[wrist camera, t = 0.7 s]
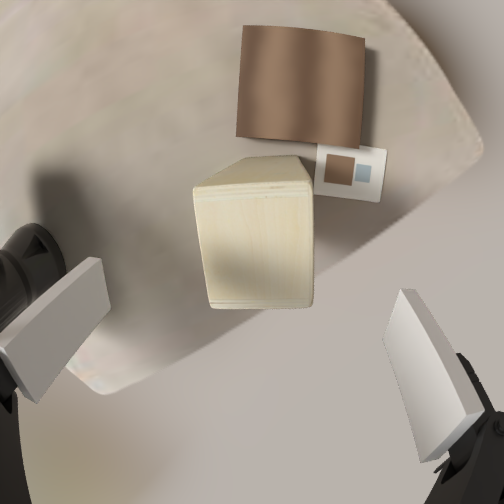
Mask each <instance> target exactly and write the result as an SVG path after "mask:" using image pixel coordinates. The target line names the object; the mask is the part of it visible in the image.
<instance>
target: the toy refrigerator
mask: <svg viewBox="0 0 504 504" xmlns="http://www.w3.org/2000/svg"><path fill="white" fill-rule="evenodd" d="M193 201H194V209H195V216H196V223H197V230H198V237H199V244H200V250H201V257H202V263H203V269H204V275H205V281H206V287H207V293H208V298H209V303H210V306H211V307H212V308H215V309H291V308H292V309H293V308H307V307H311V306H312V304H313V298H314V200H313V183H312V179H311V177H310V176H309V174H308V172H307V171H306V169H305V168H304V166H303V164H302V163H301V161H300V159H299V158H298V156H297V155H286V156H264V157H249V158H244V159H242V160H240V161H238V162H236V163H234V164H233V165H231V166H229V167H227V168H226V169H224V170H222V171H220V172H219V173H217V174H215V175H213V176H212V177H210V178H208V179H206V180H205V181H203V182H201V183H200V184H198V185H196V186H195V187H194V188H193Z"/></svg>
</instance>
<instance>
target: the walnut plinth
mask: <svg viewBox="0 0 504 504" xmlns="http://www.w3.org/2000/svg"><path fill="white" fill-rule="evenodd" d="M364 74H365V38H360V37H356V36H351V35H345V34H340V33H334V32H327V31H320V30H313V29H304V28H293V27H280V26H250V25H243V33H242V47H241V61H240V76H239V92H238V109H237V127H236V137H251V138H267V139H280V140H291V141H301V142H310V143H319V144H327V145H334V146H341V147H348V148H354V149H359V147H360V137H361V126H362V113H363V97H364Z"/></svg>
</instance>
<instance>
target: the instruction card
mask: <svg viewBox="0 0 504 504" xmlns="http://www.w3.org/2000/svg"><path fill="white" fill-rule="evenodd" d="M386 155H387V150H384V149H379V148H374V147H368V146H362V145H360V147H359V149H354V148H348V147H341V146H334V145H327V144H319V143H318V146H317V157H316V167H315V177H314V187H313V194H315V195H324V196H333V197H341V198H349V199H356V200H363V201H370V202H377V203H380V198H381V192H382V185H383V178H384V171H385V164H386Z"/></svg>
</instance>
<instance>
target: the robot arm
mask: <svg viewBox="0 0 504 504" xmlns="http://www.w3.org/2000/svg"><path fill="white" fill-rule="evenodd" d="M110 309H111V305H110V300H109V296H108V291H107V286H106V281H105V276H104V271H103V265H102V260H101V258H95V257H88V258H87V259H85V260H84V261H83V262H81V263H80V264H79V265H78V266H76V267H75V268H74V269H73V270H71V271H70V272H69V273H68V274H66V269H65V264H64V260H63V257H62V254H61V252H60V250H59V248H58V246H57V244H56V242H55V241H54V239H53V238H52V237H51V235H50V234H49V233H48V232H47V231H46V230H45V229H44V228H42V227H41V226H39V225H37V224H33V223H29V224H26V225H24V226H22V227H20V228H19V229H17V230H16V231H15V232H14V234H13V235H12V236H11V237H10V239H9V240H8V241H7V242H6V244H5V245H4V246H3V248H2V249H1V250H0V504H32V503H31V499H30V495H29V490H28V486H27V481H26V476H25V471H24V465H23V459H22V452H21V444H20V435H19V423H18V422H19V421H18V398H17V394H16V392H15V391H14V390H15V389H16V388H17V386H18V388H19V389H20V391H21V392H22V394H23V395H24V396H25V397H26V398H28V399H30V400H31V401H33V402H34V403H36V404H37V403H38V402H39V401H40V399H41V398H42V396H43V395H44V394H45V392H46V391H47V389H48V388H49V387H50V385H51V384H52V382H53V381H54V380H55V378H56V377H57V376H58V374H59V373H60V372H61V370H62V369H63V368H64V367H65V365H66V364H67V363H68V361H69V360H70V359H71V357H72V356H73V355H74V354H75V352H76V351H77V350H78V348H79V347H80V346H81V345H82V343H83V342H84V341H85V340H86V338H87V337H88V336H89V335H90V334H91V332H92V331H93V330H94V329H95V327H96V326H97V325H98V324H99V323H100V321H101V320H102V319H103V318H104V317H105V315H106V314H107V313H108V312H109V311H110ZM382 340H383V343H384V345H385V348H386V351H387V354H388V356H389V359H390V362H391V365H392V367H393V371H394V373H395V377H396V380H397V382H398V386H399V389H400V392H401V395H402V398H403V401H404V404H405V408H406V411H407V415H408V418H409V421H410V425H411V429H412V432H413V436H414V439H415V443H416V447H417V451H418V455H419V459H420V463H424V462H428V461H432V460H436V459H439V458H440V457H441V456H442V455H443V454H444V453H445V452H446V451H449V455H450V457H449V458H448V459H447V460H446V461H445V462H444V463H442V464H441V465H440V466H439V467H438V468H437V469H436V470H435V471H434V473H437V472H438V471H440V470H441V469H442V470H441V472H440V474H439V477H438V479H437V481H436V483H435V485H434V487H433V488H432V490H431V492H430V494H429V496H428V498H427V500H426V501H425V503H424V504H504V412H500V411H498V412H496V411H495V410H494V408H493V406H492V404H491V402H490V400H489V398H488V396H487V394H486V392H485V390H484V388H483V386H482V384H481V382H479V378H478V377H477V375H476V374H475V372H474V370H473V368H472V366H471V364H470V362H469V361H468V360H467V359H466V358H465V357H464V356H463V355H462V354H461V353H455V352H454V350H453V348H452V346H451V345H450V343H449V341H448V340H447V338H446V336H445V335H444V333H443V331H442V330H441V328H440V327H439V325H438V323H437V322H436V320H435V319H434V317H433V316H432V314H431V312H430V311H429V310H428V308H427V307H426V305H425V303H424V302H423V300H422V299H421V297H420V296H419V295H418V293H417V292H416V290H413V289H400V291H399V295H398V297H397V300H396V303H395V306H394V309H393V312H392V315H391V318H390V320H389V323H388V325H387V328H386V331H385V333H384V336H383V339H382Z"/></svg>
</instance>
